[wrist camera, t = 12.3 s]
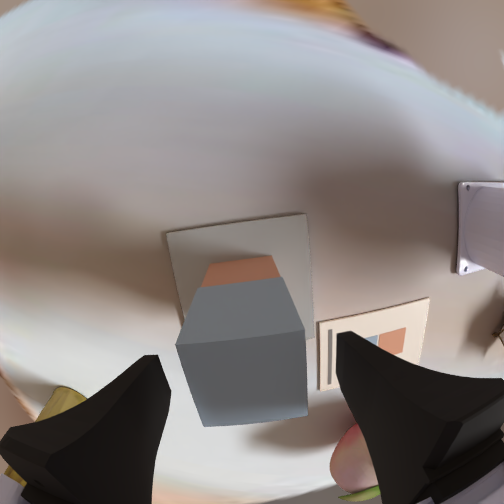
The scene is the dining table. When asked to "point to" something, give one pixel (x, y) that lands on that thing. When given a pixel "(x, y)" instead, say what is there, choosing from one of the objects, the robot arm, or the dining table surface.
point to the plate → (247, 256)
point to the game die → (500, 335)
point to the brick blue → (245, 353)
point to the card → (376, 335)
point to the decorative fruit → (354, 467)
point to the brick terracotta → (240, 271)
